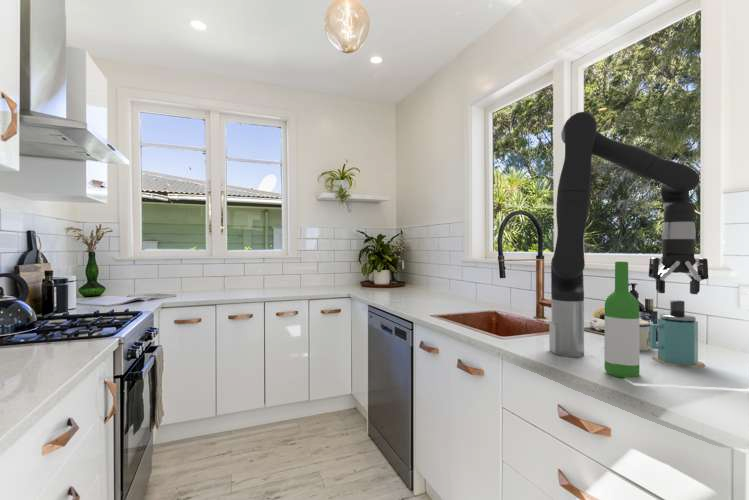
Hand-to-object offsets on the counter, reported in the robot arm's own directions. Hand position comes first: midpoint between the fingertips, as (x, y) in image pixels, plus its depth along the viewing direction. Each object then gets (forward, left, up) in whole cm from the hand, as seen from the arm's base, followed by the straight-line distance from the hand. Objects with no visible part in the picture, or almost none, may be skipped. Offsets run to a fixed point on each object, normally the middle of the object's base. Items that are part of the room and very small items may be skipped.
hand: (677, 293), depth 107 cm
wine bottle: (-21, -13, -21) cm, 32 cm away
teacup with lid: (-4, +17, -21) cm, 27 cm away
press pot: (-1, 0, -20) cm, 20 cm away
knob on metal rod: (0, 0, -17) cm, 17 cm away
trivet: (0, 0, -20) cm, 20 cm away
